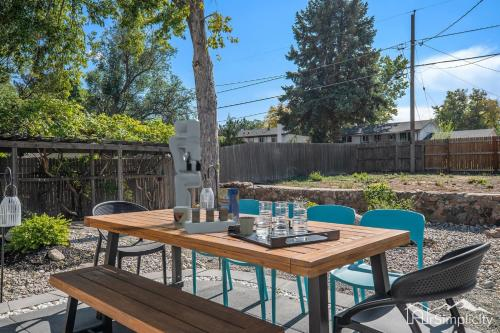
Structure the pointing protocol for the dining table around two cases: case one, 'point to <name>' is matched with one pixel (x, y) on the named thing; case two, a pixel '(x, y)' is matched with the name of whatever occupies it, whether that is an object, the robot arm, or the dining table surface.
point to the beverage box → (230, 202)
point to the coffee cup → (180, 216)
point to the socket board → (208, 226)
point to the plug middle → (210, 214)
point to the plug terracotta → (223, 213)
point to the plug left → (195, 215)
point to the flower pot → (246, 225)
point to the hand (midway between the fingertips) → (193, 170)
